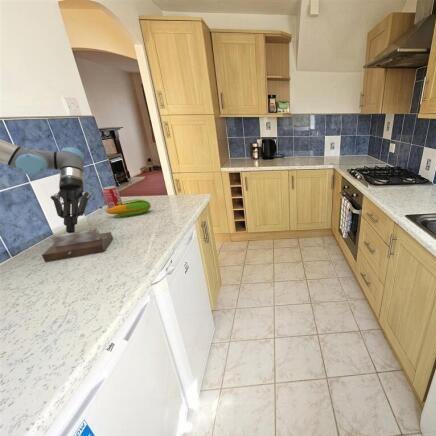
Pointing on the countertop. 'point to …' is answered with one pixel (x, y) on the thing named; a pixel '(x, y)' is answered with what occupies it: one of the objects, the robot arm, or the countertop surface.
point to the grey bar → (76, 237)
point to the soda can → (111, 196)
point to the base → (78, 248)
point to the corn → (130, 208)
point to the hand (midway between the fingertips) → (70, 232)
